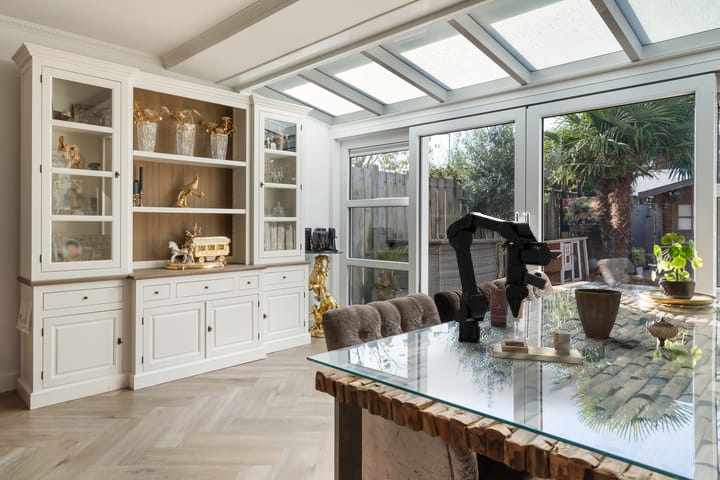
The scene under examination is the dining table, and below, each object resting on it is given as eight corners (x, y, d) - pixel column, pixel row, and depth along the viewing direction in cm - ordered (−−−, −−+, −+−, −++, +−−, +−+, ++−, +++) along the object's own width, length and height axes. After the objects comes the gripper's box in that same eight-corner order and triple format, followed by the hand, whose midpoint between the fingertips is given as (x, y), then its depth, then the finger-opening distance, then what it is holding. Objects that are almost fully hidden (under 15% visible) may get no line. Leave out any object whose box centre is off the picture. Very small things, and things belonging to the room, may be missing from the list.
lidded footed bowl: (680, 347, 156) (681, 316, 155) (674, 352, 150) (675, 320, 149) (650, 343, 161) (651, 313, 161) (644, 347, 155) (645, 316, 155)
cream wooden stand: (493, 356, 142) (493, 330, 142) (493, 348, 152) (493, 324, 152) (582, 363, 136) (583, 336, 136) (576, 354, 145) (577, 329, 145)
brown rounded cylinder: (508, 327, 185) (508, 290, 185) (490, 326, 186) (491, 289, 186) (506, 324, 191) (507, 288, 191) (489, 323, 192) (490, 287, 192)
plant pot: (573, 338, 167) (575, 291, 167) (572, 330, 181) (573, 287, 181) (623, 342, 162) (624, 294, 161) (618, 333, 176) (619, 289, 175)
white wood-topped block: (508, 321, 143) (509, 301, 143) (508, 318, 148) (508, 298, 148) (522, 322, 142) (522, 301, 142) (521, 319, 147) (521, 299, 147)
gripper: (548, 267, 134) (547, 323, 134) (542, 262, 152) (540, 312, 152) (506, 265, 136) (505, 321, 137) (504, 261, 154) (503, 310, 155)
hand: (515, 316), depth 145 cm, fingers closed on white wood-topped block, 5 cm apart
